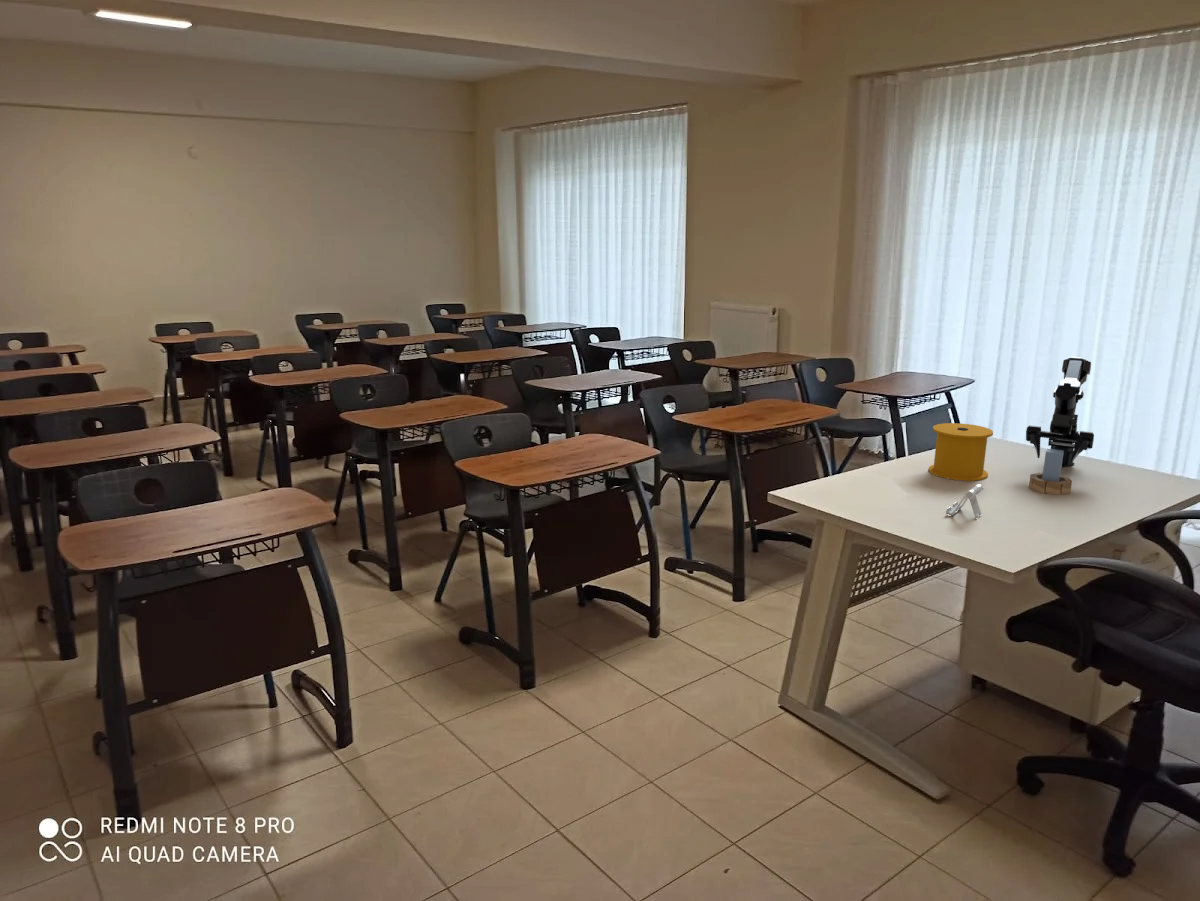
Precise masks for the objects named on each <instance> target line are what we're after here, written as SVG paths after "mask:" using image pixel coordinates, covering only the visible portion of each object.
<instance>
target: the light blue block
mask: <svg viewBox="0 0 1200 901" xmlns="http://www.w3.org/2000/svg"><path fill="white" fill-rule="evenodd" d="M1063 453H1064V451H1063V450H1054V449H1051V448H1046V450H1045V455H1044V462H1043V470H1042V473H1043V476H1042V479H1043V480H1046V481H1055V482H1059V480H1060V475H1061V472H1062V467H1063V466H1062V460H1063Z"/></svg>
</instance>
